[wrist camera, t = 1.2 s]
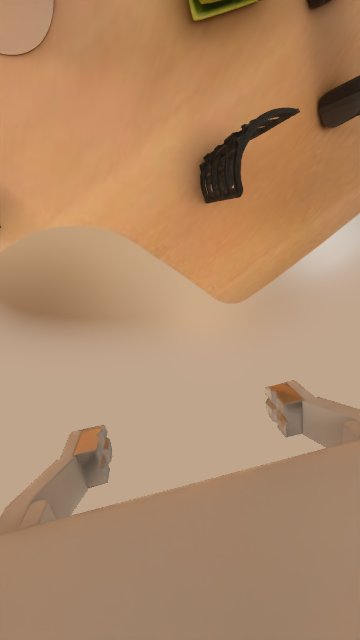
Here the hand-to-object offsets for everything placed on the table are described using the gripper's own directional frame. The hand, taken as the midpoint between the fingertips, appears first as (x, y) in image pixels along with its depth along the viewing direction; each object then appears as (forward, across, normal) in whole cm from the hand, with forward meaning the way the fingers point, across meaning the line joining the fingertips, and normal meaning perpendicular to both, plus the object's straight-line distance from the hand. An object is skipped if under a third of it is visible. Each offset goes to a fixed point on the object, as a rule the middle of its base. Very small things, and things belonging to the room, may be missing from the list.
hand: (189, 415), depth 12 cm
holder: (+40, -15, -20) cm, 47 cm away
